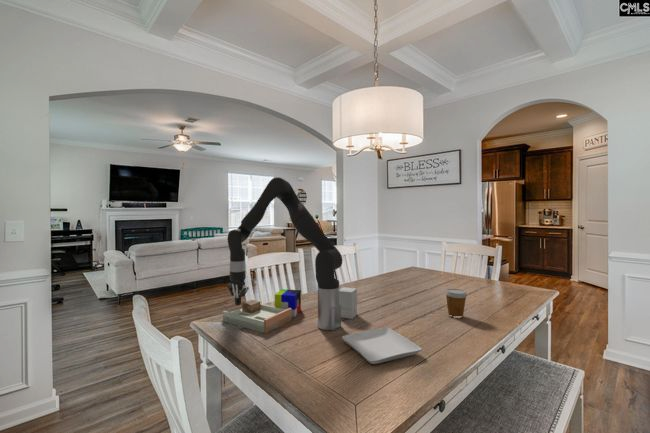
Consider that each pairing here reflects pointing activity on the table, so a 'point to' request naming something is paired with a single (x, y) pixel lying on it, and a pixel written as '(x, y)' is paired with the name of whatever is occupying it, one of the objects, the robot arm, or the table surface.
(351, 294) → the supplement box
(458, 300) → the disposable coffee cup
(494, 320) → the table surface
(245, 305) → the walnut block
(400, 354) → the salad plate
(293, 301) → the puzzle toy
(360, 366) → the table surface
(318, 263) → the robot arm
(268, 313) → the box
